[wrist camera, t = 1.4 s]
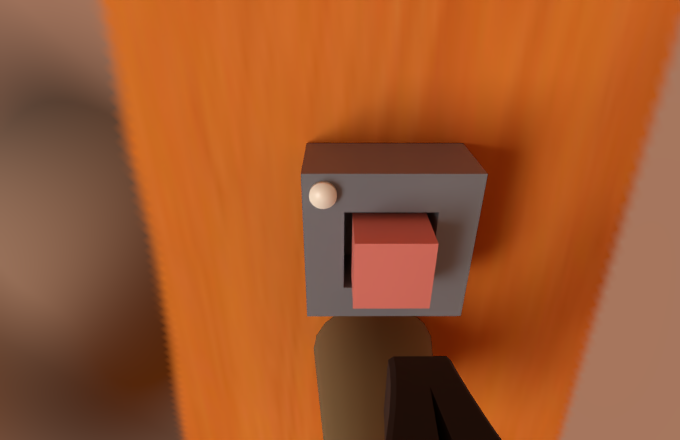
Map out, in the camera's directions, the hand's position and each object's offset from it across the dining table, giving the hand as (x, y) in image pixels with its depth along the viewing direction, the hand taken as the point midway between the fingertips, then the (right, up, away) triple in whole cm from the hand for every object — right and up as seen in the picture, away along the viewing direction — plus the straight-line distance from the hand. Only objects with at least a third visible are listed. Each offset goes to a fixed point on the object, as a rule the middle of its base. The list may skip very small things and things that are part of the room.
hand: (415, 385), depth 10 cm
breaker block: (0, +4, +8) cm, 9 cm away
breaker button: (0, +3, +5) cm, 6 cm away
